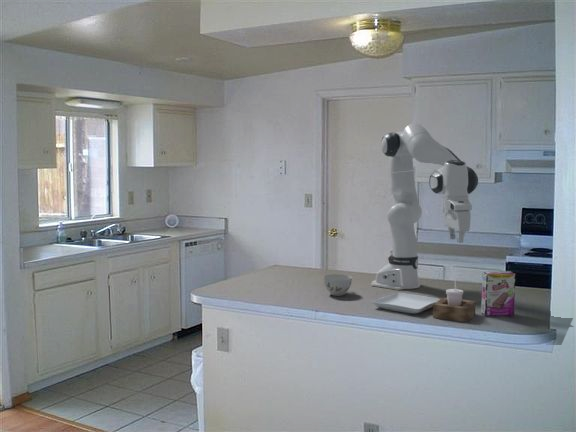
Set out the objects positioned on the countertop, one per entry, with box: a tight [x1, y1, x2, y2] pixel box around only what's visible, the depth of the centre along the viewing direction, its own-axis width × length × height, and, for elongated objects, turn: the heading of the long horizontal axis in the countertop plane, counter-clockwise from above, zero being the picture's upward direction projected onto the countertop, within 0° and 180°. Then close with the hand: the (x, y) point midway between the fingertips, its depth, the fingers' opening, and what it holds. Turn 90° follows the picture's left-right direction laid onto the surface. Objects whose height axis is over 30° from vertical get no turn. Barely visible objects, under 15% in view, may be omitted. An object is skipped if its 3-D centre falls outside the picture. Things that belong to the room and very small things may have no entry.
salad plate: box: [371, 292, 441, 315], centre depth 243 cm, size 21×21×3 cm
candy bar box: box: [480, 270, 516, 317], centre depth 229 cm, size 11×5×16 cm, turn 92°
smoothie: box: [445, 279, 464, 306], centre depth 228 cm, size 6×6×14 cm
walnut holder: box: [432, 297, 476, 323], centre depth 229 cm, size 13×13×5 cm
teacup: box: [323, 273, 353, 297], centre depth 266 cm, size 15×12×8 cm
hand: (456, 240), depth 227 cm, fingers open, 8 cm apart
